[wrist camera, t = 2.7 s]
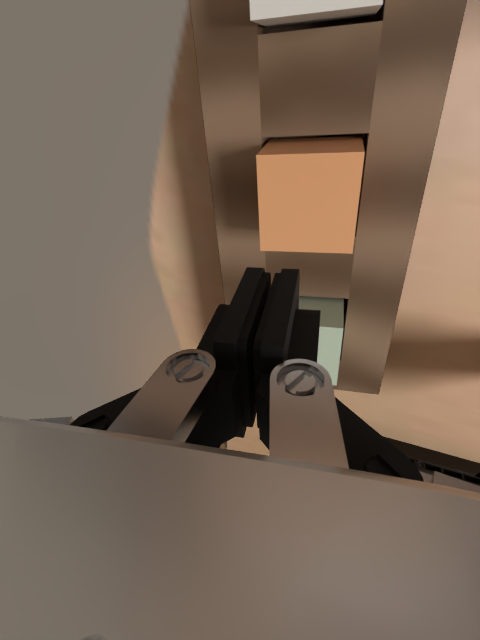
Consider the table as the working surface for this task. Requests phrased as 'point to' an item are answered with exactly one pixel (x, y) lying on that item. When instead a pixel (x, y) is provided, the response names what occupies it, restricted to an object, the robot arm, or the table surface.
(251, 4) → the grey button
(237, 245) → the console
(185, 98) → the table surface
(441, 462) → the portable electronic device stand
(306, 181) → the tan block
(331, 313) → the sage button
